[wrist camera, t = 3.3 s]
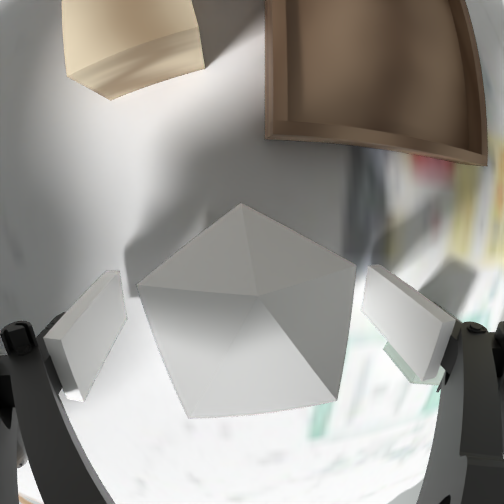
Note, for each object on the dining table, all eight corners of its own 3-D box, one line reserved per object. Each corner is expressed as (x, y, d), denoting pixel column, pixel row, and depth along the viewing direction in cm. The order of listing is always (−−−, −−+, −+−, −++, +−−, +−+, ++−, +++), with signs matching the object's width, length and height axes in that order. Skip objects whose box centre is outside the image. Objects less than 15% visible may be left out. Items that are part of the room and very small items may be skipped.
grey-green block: (382, 348, 18) (410, 383, 14) (410, 297, 17) (445, 325, 13) (419, 355, 19) (447, 385, 15) (444, 309, 18) (478, 334, 14)
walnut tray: (264, 139, 14) (273, 134, 11) (264, -52, 10) (270, -74, 8) (461, 163, 15) (487, 166, 13) (442, -2, 11) (461, -12, 9)
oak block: (111, 100, 12) (67, 76, 8) (98, 27, 11) (61, -12, 6) (205, 69, 13) (198, 26, 8) (185, -3, 11) (175, -56, 6)
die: (212, 169, 15) (54, 291, 8) (389, 204, 12) (343, 429, 5) (223, 288, 20) (133, 406, 13) (353, 328, 16) (295, 484, 10)
